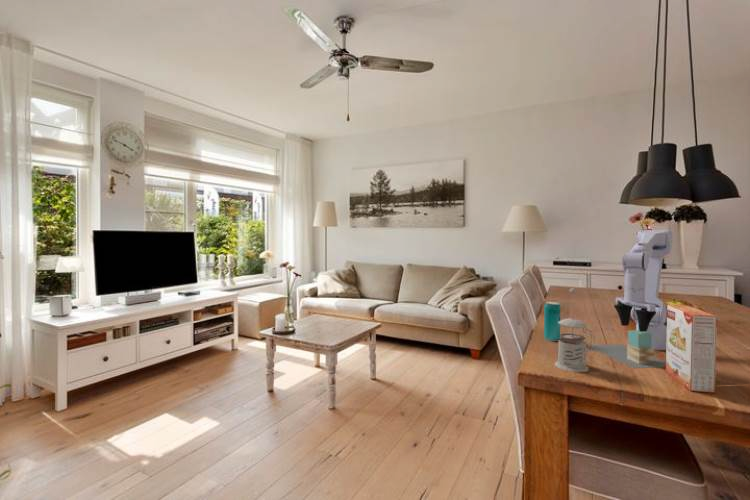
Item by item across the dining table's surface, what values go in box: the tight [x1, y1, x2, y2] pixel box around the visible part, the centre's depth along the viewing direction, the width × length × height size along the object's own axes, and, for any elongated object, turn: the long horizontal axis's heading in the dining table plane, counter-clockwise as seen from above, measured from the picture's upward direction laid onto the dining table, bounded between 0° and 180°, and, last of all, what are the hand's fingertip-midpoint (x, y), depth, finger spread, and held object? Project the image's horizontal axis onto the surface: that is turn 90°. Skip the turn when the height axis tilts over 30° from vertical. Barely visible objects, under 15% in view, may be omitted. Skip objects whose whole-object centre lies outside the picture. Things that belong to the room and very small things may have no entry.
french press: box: [554, 287, 596, 373], centre depth 116 cm, size 10×12×25 cm
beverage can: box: [543, 301, 562, 342], centre depth 145 cm, size 6×6×15 cm
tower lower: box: [627, 351, 655, 364], centre depth 121 cm, size 5×5×2 cm
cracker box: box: [665, 304, 718, 394], centre depth 103 cm, size 14×6×21 cm, turn 163°
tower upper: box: [626, 343, 655, 356], centre depth 121 cm, size 5×5×2 cm
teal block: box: [627, 329, 652, 348], centre depth 121 cm, size 4×4×4 cm
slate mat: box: [586, 344, 666, 369], centre depth 126 cm, size 14×23×1 cm, turn 5°
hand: (633, 328), depth 123 cm, fingers open, 7 cm apart
